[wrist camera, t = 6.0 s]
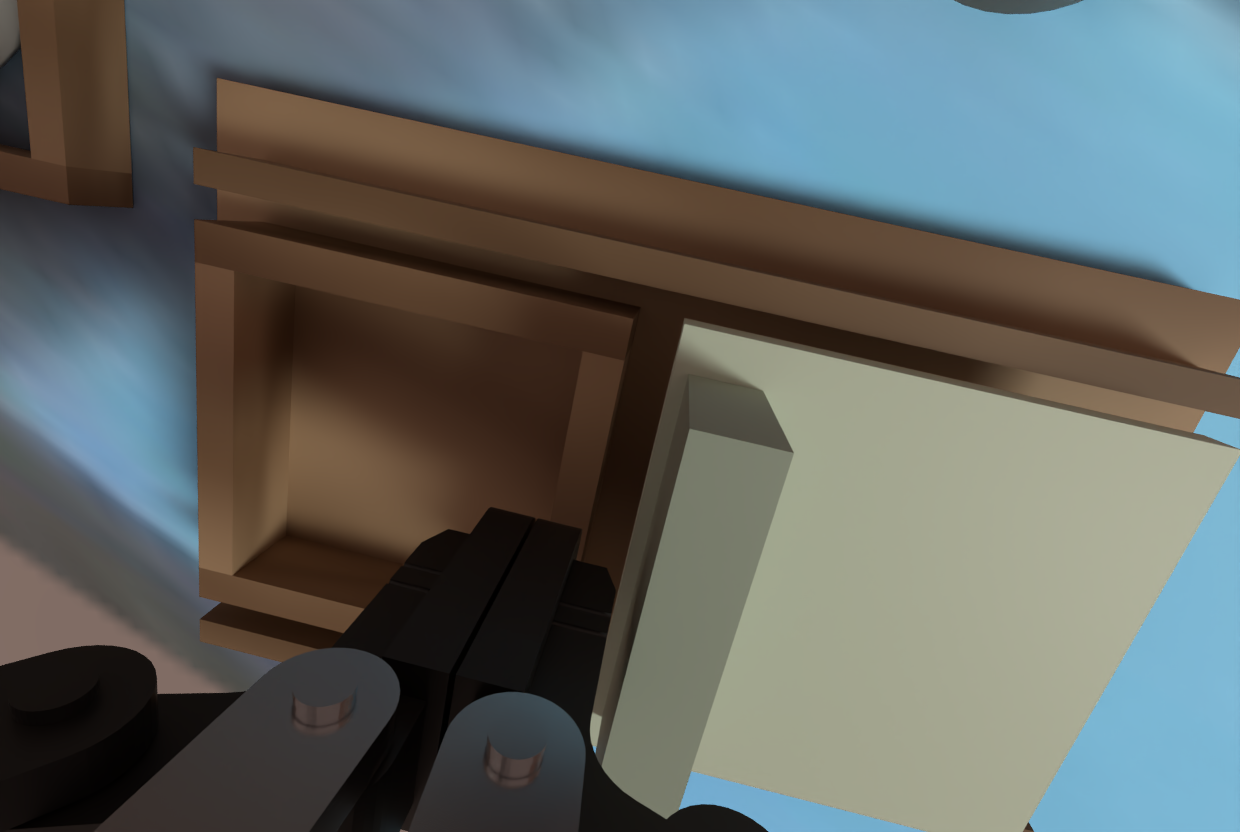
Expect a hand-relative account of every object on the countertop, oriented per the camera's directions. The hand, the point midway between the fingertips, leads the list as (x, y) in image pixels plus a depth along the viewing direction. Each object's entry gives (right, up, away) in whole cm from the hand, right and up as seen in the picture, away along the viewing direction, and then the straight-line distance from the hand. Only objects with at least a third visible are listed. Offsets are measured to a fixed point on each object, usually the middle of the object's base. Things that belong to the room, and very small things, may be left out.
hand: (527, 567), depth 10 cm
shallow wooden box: (+2, +2, +4) cm, 5 cm away
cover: (+6, -1, +1) cm, 6 cm away
